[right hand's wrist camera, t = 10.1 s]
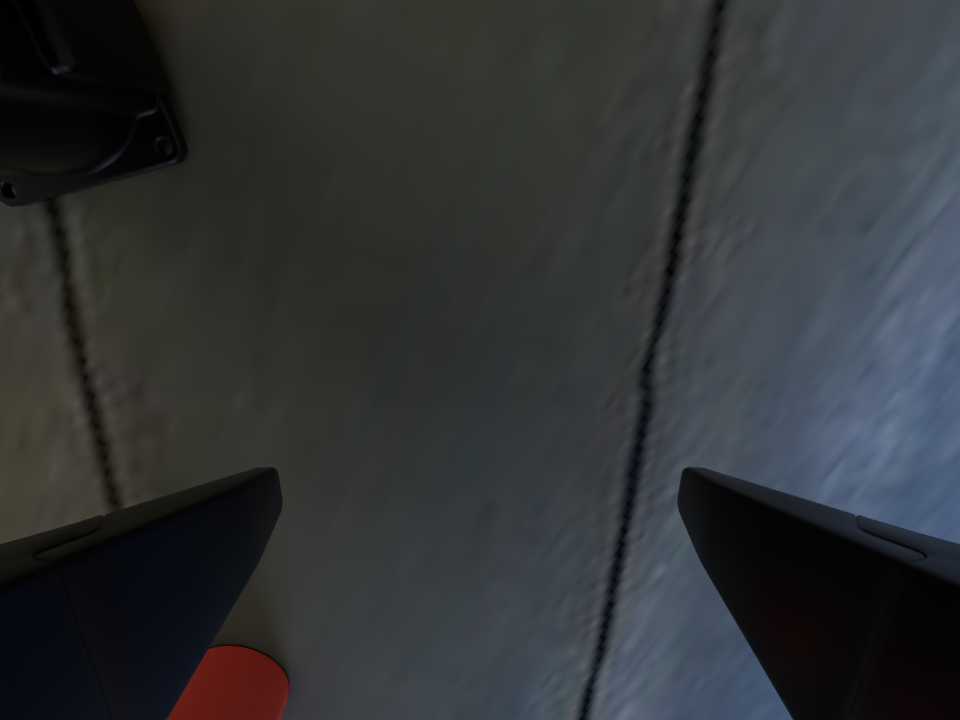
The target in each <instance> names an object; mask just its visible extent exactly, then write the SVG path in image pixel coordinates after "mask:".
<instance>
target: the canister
mask: <svg viewBox="0 0 960 720" xmlns="http://www.w3.org/2000/svg"><path fill="white" fill-rule="evenodd" d="M288 696H289V683H288V679H287V677H286V675H285V673H284V671H283V670H282V669H281V668H280V666H279V665H278V664H277V663H276V662H275V661H273V660H272V659H271V658H269V657H267V656H266V655H264V654H262V653H260V652H258V651H255V650H252V649H249V648H245V647H239V646H219V647H214V648H210V649H208V650H207V652H206V654H205V655H204V657H203V659H202V661H201V662H200V664H199V666H198V667H197V669H196V671H195V673H194V674H193V676H192V678H191V679H190V681H189V683H188V685H187V686H186V688H185V690H184V691H183V693H182V695H181V696H180V698H179V700H178V702H177V703H176V705H175V707H174V708H173V710H172V712H171V714H170V715H169V717H168V719H167V720H280V718H281V715H282V712H283V710H284V707H285V704H286V701H287V699H288Z"/></svg>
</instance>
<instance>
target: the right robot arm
mask: <svg viewBox="0 0 960 720" xmlns="http://www.w3.org/2000/svg"><path fill="white" fill-rule="evenodd" d="M166 86H167V81H166V79H165V76H164V74H163V72H162V69H161V67H160V64H159V62H158V59H157V57H156V54H155V52H154V49H153V47H152V44H151V42H150V39H149V37H148V34H147V32H146V29H145V27H144V25H143V22H142V20H141V17H140V15H139V12H138V10H137V7H136V5H135V2H134V0H0V201H2V202H3V203H4V204H6V205H9V206H25V205H30V204H34V203H37V202H41V201H45V200H48V199H52V198H56V197H59V196H63V195H67V194H70V193H74V192H77V191H81V190H85V189H88V188H92V187H96V186H99V185H103V184H107V183H110V182H114V181H117V180H121V179H125V178H128V177H132V176H136V175H139V174H143V173H147V172H150V171H154V170H158V169H161V168H165V167H168V166H172V165H176V164H179V163H181V162H183V161H184V159H185V158H186V156H187V146H186V142H185V140H184V138H183V135H182V133H181V130H180V128H179V125H178V123H177V120H176V118H175V115H174V113H173V111H172V108H171V106H170V103H169V101H168V98H167V96H166V93H165V91H166ZM166 140H168V141H170V143H171V144H172V146H173V151H172V154H170V155H169V154H167V153H166V151H165V150H164V143H165V141H166ZM12 184H13V185H14V186H15V188H16V189H17V196H15V195H14V193H13V192H12V189H11V187H12ZM281 509H282V494H281V487H280V481H279V475H278V472H277V470H276V469H275V468H272V467H267V468H255V469H251V470H248V471H245V472H242V473H238V474H235V475H232V476H229V477H225V478H222V479H219V480H216V481H213V482H209V483H206V484H203V485H200V486H196V487H193V488H190V489H187V490H183V491H180V492H177V493H174V494H170V495H167V496H164V497H161V498H157V499H154V500H151V501H148V502H144V503H141V504H138V505H135V506H131V507H128V508H125V509H122V510H118V511H115V512H112V513H109V514H106V515H105V516H102V515H100V516H97V517H93V518H90V519H87V520H84V521H80V522H77V523H73V524H70V525H67V526H63V527H60V528H57V529H53V530H50V531H46V532H43V533H39V534H36V535H32V536H29V537H25V538H21V539H18V540H14V541H11V542H7V543H3V544H0V720H167V719H168V717H169V715H170V714H171V712H172V710H173V708H174V707H175V705H176V703H177V702H178V700H179V698H180V696H181V695H182V693H183V691H184V690H185V688H186V686H187V685H188V683H189V681H190V679H191V678H192V676H193V674H194V673H195V671H196V669H197V667H198V666H199V664H200V662H201V661H202V659H203V657H204V655H205V654H206V652H207V650H208V649H209V647H210V645H211V644H212V642H213V640H214V638H215V637H216V635H217V633H218V632H219V630H220V628H221V626H222V625H223V623H224V621H225V620H226V618H227V616H228V615H229V613H230V611H231V609H232V608H233V606H234V604H235V603H236V601H237V599H238V597H239V596H240V594H241V592H242V591H243V589H244V587H245V586H246V584H247V582H248V580H249V579H250V577H251V575H252V574H253V572H254V570H255V568H256V567H257V565H258V563H259V561H260V559H261V557H262V555H263V552H264V550H265V548H266V545H267V543H268V541H269V538H270V536H271V534H272V531H273V529H274V527H275V524H276V522H277V520H278V517H279V515H280V513H281ZM678 509H679V513H680V515H681V517H682V520H683V522H684V524H685V527H686V529H687V531H688V534H689V536H690V538H691V541H692V543H693V545H694V548H695V550H696V552H697V555H698V557H699V559H700V561H701V563H702V565H703V566H704V568H705V570H706V572H707V574H708V575H709V577H710V579H711V580H712V582H713V584H714V585H715V587H716V589H717V591H718V592H719V594H720V596H721V597H722V599H723V601H724V603H725V604H726V606H727V608H728V609H729V611H730V613H731V615H732V616H733V618H734V620H735V621H736V623H737V625H738V626H739V628H740V630H741V632H742V633H743V635H744V637H745V638H746V640H747V642H748V644H749V645H750V647H751V649H752V650H753V652H754V654H755V655H756V657H757V659H758V661H759V662H760V664H761V666H762V667H763V669H764V671H765V673H766V674H767V676H768V678H769V679H770V681H771V683H772V684H773V686H774V688H775V690H776V691H777V693H778V695H779V696H780V698H781V700H782V702H783V703H784V705H785V707H786V708H787V710H788V712H789V713H790V715H791V717H792V719H793V720H960V544H957V543H953V542H949V541H946V540H942V539H939V538H935V537H931V536H928V535H924V534H921V533H917V532H914V531H910V530H907V529H903V528H900V527H897V526H893V525H890V524H887V523H883V522H880V521H876V520H873V519H870V518H867V517H863V516H860V515H858V516H855V515H854V514H851V513H848V512H845V511H842V510H838V509H835V508H832V507H829V506H825V505H822V504H819V503H816V502H812V501H809V500H806V499H803V498H799V497H796V496H793V495H790V494H786V493H783V492H780V491H777V490H773V489H770V488H767V487H764V486H760V485H757V484H754V483H751V482H748V481H744V480H741V479H738V478H735V477H731V476H728V475H725V474H722V473H718V472H715V471H712V470H709V469H705V468H693V467H688V468H685V469H684V470H683V472H682V475H681V481H680V488H679V494H678Z"/></svg>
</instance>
